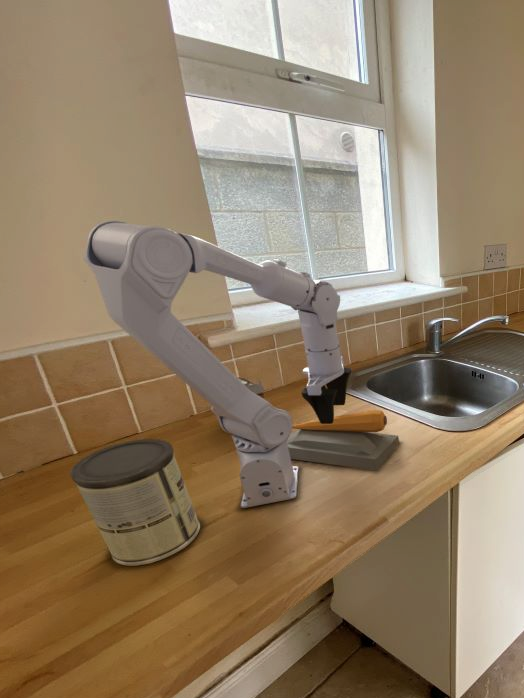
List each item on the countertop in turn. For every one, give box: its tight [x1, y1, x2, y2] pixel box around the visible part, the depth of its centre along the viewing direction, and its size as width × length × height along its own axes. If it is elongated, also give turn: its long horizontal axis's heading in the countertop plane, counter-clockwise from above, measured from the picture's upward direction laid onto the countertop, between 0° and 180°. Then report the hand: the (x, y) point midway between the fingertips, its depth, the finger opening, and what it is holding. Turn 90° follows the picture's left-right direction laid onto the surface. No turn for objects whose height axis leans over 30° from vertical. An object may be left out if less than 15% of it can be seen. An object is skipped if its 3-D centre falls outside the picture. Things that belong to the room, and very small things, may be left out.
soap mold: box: [287, 429, 400, 471], centre depth 88 cm, size 10×20×4 cm, turn 82°
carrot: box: [292, 409, 388, 433], centre depth 88 cm, size 20×4×4 cm, turn 95°
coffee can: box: [69, 438, 201, 567], centre depth 62 cm, size 10×10×14 cm
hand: (333, 413), depth 87 cm, fingers open, 7 cm apart
